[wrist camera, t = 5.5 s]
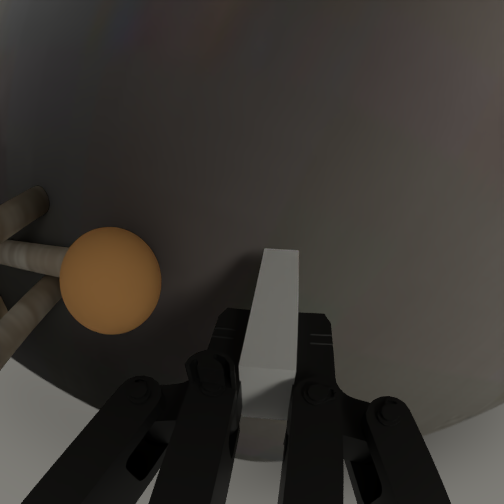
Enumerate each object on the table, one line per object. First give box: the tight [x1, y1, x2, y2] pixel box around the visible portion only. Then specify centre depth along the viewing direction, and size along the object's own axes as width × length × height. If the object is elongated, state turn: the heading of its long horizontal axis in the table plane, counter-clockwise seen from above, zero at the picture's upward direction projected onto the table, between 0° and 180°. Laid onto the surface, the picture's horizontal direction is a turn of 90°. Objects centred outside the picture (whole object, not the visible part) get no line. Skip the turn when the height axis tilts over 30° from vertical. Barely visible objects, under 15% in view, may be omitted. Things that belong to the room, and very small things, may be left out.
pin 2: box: [0, 275, 62, 370], centre depth 15 cm, size 2×2×9 cm
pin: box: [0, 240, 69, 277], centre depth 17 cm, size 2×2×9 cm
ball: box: [59, 227, 161, 335], centre depth 14 cm, size 6×6×6 cm
